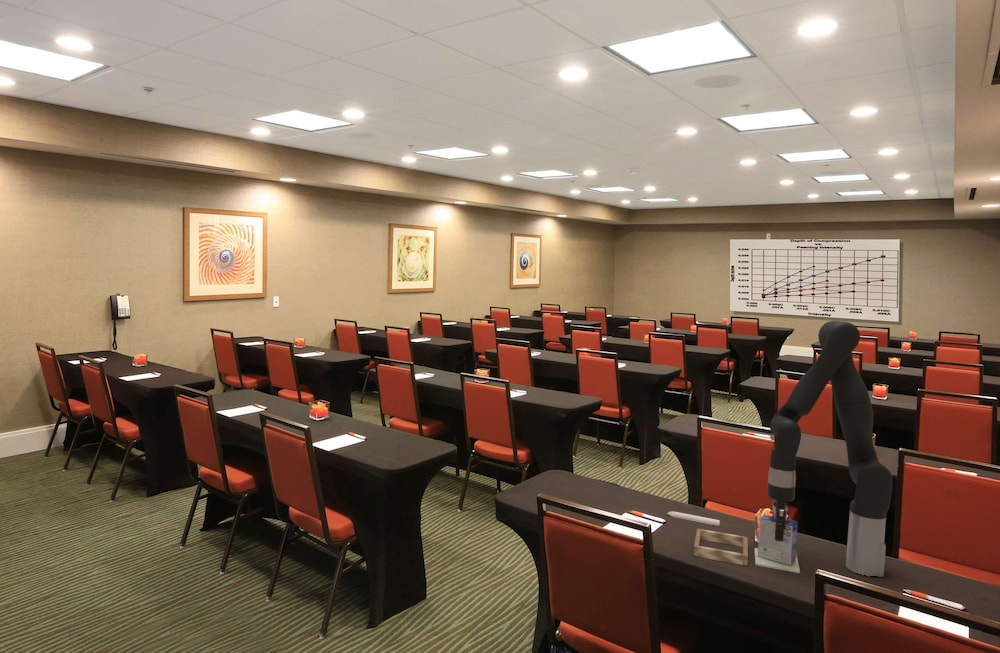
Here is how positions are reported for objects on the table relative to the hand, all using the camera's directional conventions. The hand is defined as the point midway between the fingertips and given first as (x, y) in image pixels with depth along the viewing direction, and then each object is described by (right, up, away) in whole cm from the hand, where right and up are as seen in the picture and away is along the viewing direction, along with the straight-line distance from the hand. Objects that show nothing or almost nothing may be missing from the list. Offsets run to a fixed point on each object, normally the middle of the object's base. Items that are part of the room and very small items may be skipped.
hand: (778, 535), depth 185 cm
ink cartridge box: (0, -7, +1) cm, 7 cm away
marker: (-16, -6, +31) cm, 36 cm away
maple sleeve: (-15, -7, +6) cm, 18 cm away
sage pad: (0, -8, +1) cm, 8 cm away
